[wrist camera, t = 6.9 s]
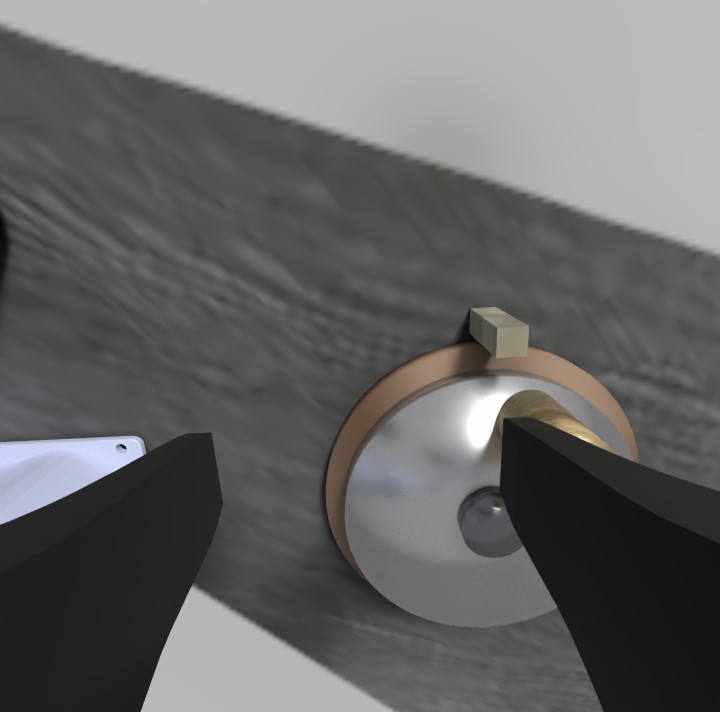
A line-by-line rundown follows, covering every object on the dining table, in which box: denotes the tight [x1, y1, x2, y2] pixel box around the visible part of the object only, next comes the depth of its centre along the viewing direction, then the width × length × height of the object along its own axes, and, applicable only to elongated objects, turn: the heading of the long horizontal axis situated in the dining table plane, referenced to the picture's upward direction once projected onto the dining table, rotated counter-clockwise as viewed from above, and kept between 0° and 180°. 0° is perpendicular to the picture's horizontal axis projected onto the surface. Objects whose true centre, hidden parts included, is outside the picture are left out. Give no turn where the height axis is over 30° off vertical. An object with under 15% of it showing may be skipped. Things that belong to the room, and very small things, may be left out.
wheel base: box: [326, 307, 639, 587], centre depth 21 cm, size 16×18×4 cm
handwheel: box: [345, 369, 634, 627], centre depth 19 cm, size 14×14×6 cm
